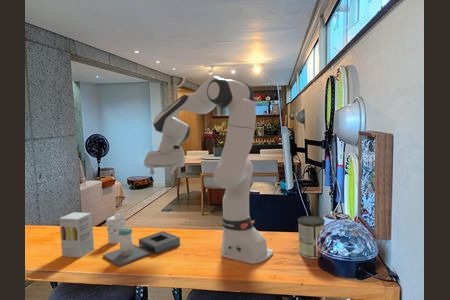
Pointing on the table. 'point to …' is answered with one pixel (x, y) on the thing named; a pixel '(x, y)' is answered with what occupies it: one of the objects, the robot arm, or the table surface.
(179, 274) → the table surface
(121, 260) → the rubber mat
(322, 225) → the coffee can
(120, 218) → the ink cartridge box
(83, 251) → the supplement box
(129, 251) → the teal-capped white cylinder
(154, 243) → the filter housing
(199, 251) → the table surface
